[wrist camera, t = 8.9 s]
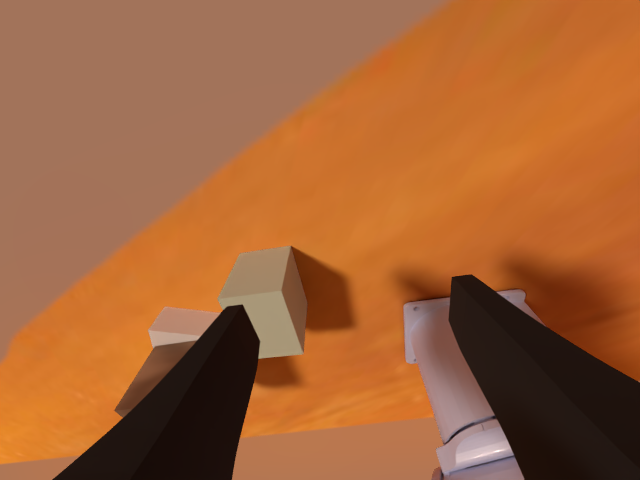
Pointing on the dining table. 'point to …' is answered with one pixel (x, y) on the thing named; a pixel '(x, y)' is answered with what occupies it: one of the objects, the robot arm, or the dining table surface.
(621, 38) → the dining table surface
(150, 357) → the walnut brick
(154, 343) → the pale grey brick
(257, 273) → the sage brick
